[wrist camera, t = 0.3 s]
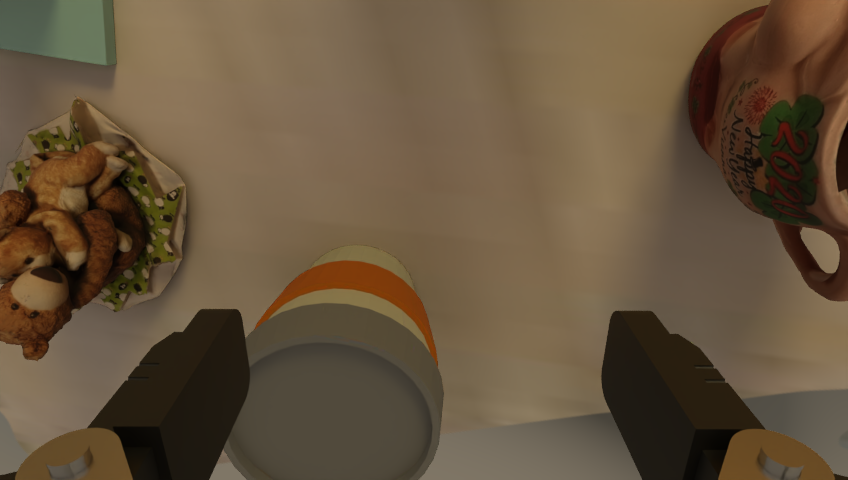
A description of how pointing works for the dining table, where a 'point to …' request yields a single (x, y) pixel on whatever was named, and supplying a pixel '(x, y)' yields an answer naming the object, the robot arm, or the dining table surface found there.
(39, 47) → the baseplate
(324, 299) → the reusable coffee cup
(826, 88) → the brown ceramic mug
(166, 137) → the dining table surface
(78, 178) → the bear figurine
